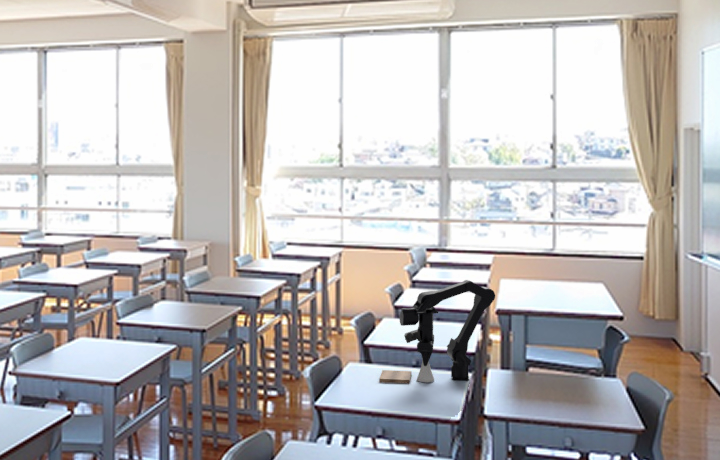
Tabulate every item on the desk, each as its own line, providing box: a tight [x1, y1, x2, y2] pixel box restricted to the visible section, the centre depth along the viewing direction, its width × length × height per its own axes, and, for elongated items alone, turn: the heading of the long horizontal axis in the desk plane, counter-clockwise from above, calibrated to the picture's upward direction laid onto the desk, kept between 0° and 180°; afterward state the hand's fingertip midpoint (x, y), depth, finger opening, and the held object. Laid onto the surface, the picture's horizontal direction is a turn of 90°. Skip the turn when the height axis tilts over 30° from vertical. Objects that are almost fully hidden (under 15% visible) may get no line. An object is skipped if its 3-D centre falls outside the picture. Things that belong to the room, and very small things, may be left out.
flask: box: [416, 358, 435, 384], centre depth 260 cm, size 7×7×10 cm
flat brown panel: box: [378, 369, 412, 384], centre depth 263 cm, size 12×12×2 cm
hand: (425, 362), depth 260 cm, fingers open, 9 cm apart
